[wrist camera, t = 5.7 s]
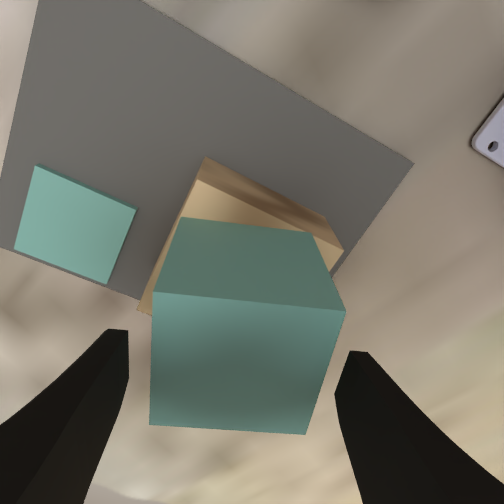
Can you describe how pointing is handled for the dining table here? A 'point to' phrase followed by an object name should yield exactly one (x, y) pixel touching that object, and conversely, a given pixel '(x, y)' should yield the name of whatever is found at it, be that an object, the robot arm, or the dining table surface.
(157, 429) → the dining table surface
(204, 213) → the oak block
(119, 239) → the swatch
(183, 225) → the teal block
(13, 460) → the robot arm
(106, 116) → the placemat
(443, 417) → the dining table surface
